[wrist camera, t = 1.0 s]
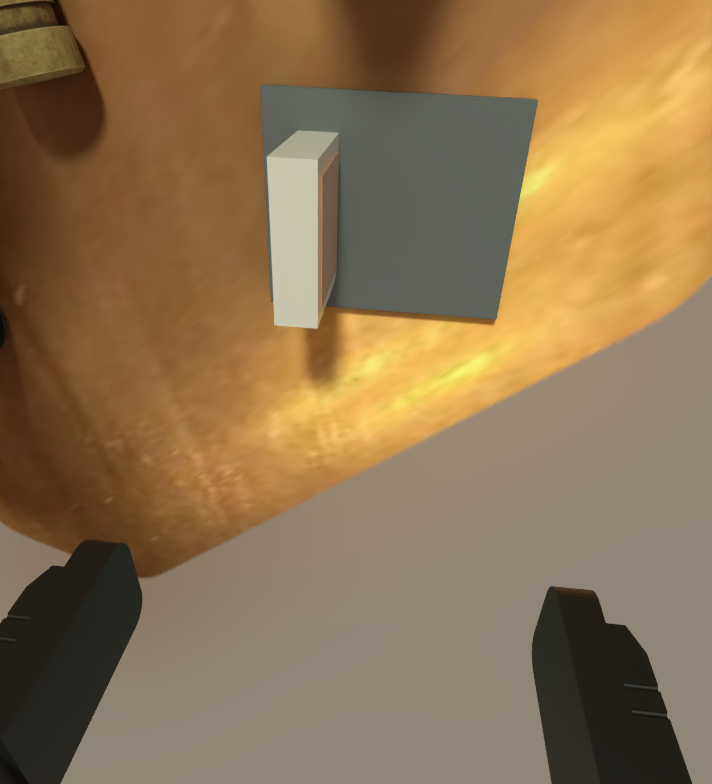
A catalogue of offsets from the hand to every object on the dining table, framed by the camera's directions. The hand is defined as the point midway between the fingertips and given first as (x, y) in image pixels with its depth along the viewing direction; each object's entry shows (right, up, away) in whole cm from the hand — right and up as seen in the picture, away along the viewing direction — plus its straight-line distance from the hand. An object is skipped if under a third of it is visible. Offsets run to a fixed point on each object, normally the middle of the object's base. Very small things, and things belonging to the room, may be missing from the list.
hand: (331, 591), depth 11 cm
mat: (+2, +14, +22) cm, 26 cm away
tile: (-2, +14, +21) cm, 26 cm away
